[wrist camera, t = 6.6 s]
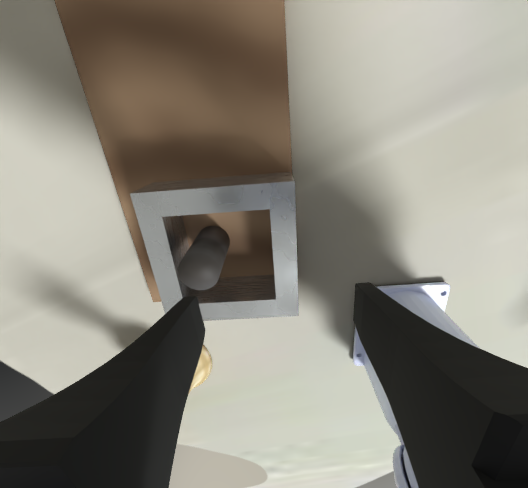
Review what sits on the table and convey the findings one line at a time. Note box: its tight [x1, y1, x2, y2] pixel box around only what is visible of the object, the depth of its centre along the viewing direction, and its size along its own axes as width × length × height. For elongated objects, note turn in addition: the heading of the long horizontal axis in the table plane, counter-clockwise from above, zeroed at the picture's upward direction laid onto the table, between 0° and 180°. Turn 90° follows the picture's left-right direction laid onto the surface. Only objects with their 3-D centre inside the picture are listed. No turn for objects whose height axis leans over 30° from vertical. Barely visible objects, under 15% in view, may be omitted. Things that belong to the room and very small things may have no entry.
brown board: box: [54, 0, 292, 302], centre depth 17 cm, size 22×13×6 cm, turn 5°
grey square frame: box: [130, 172, 299, 321], centre depth 19 cm, size 10×10×4 cm
